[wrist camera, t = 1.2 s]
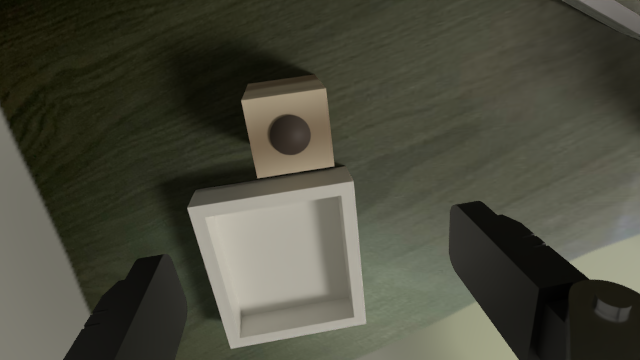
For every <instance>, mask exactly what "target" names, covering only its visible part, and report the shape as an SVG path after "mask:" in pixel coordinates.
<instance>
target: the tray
mask: <svg viewBox="0 0 640 360" xmlns="http://www.w3.org/2000/svg"><path fill="white" fill-rule="evenodd" d="M187 209H188V212H189V215H190V218H191V222H192V225H193V228H194V231H195V235H196V238H197V241H198V244H199V248H200V251H201V254H202V257H203V260H204V264H205V267H206V270H207V273H208V277H209V280H210V283H211V286H212V290H213V293H214V296H215V299H216V302H217V306H218V309H219V312H220V315H221V319H222V322H223V325H224V328H225V332H226V335H227V338H228V341H229V344H230V348H231V349H232V348H237V347H243V346H248V345H254V344H259V343H264V342H270V341H275V340H281V339H286V338H291V337H297V336H302V335H308V334H313V333H319V332H324V331H329V330H335V329H340V328H346V327H351V326H356V325H362V324H366V315H365V304H364V293H363V282H362V270H361V259H360V248H359V237H358V225H357V214H356V203H355V192H354V181H353V179H352V177H351V175H350V173H349V171H348V169H347V167H346V166H344V167H338V168H331V169H325V170H319V171H312V172H306V173H299V174H293V175H287V176H280V177H274V178H268V179H261V180H255V181H249V182H242V183H236V184H230V185H223V186H217V187H210V188H204V189H198V190H195V192H194V194H193V196H192V198H191V201H190V203H189V205H188V207H187Z"/></svg>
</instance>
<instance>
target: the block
mask: <svg viewBox="0 0 640 360" xmlns="http://www.w3.org/2000/svg"><path fill="white" fill-rule="evenodd" d="M241 102H242V107H243V111H244V116H245V121H246V126H247V131H248V135H249V140H250V145H251V150H252V154H253V159H254V164H255V169H256V173H257V178H263V177H269V176H276V175H282V174H288V173H295V172H301V171H307V170H314V169H320V168H327V167H333V166H334V157H333V148H332V139H331V130H330V121H329V112H328V103H327V94H326V88H325V87H324V85H323V84H322V83H321V82H320V80H319V79H318V78H317V77H316V75H315V74H314V75H307V76H300V77H293V78H286V79H279V80H272V81H265V82H258V83H251V84H248V85H247V87H246V90H245V92H244V95H243V97H242V100H241Z"/></svg>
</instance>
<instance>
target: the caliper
mask: <svg viewBox="0 0 640 360" xmlns="http://www.w3.org/2000/svg"><path fill="white" fill-rule="evenodd" d="M561 1H563V2H565V3H567V4H569V5H570V6H572V7H574V8H576V9H578V10H580V11H581V12H583V13H585V14H587V15H589V16H590V17H592V18H594V19H596V20H598V21H599V22H601V23H603V24H605V25H607V26H608V27H610V28H612V29H614V30H616V31H618V32H620V33H623V34H625V35H627V36H630V37H634V38H636V39H638V40H639V41H640V16H639V15H638V14H636V13H635V12H633V11H631V10H630V9H628V8H626V7H625V6H623V5H621V4H620V3H618V2H616V1H615V0H561Z"/></svg>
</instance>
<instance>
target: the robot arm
mask: <svg viewBox="0 0 640 360" xmlns="http://www.w3.org/2000/svg"><path fill="white" fill-rule="evenodd" d="M449 256H450V260H451V263H452V266H453V268H454V270H455V272H456V273H457V275H458V276H459V277H460V279H461V280H462V281H463V283H464V284H465V286H466V287H467V288H468V290H469V291H470V293H471V294H472V295H473V297H474V298H475V299H476V301H477V302H478V303H479V305H480V306H481V308H482V309H483V311H484V312H485V313H486V315H487V316H488V317H489V319H490V320H491V322H492V323H493V324H494V326H495V327H496V328H497V330H498V331H499V333H500V334H501V335H502V337H503V338H504V340H505V341H506V342H507V344H508V345H509V347H510V348H511V349H512V351H513V352H514V353H515V355H516V356H517V358H518V359H519V360H640V294H639V293H638V292H636V291H634V290H632V289H630V288H628V287H625V286H623V285H620V284H617V283H613V282H609V281H604V280H590V279H588V278H587V277H586V276H585V275H584V274H582V273H581V272H580V271H579V270H577V269H576V268H575V267H574V266H573V265H571V264H570V263H569V262H568V261H567V260H565V259H564V258H563V257H562V256H561V255H559V254H558V253H557V252H556V251H554V250H553V249H552V248H551V247H550V246H546V244H545V242H543V241H542V240H541V239H540V238H539V237H537V236H534V233H533V232H531V231H530V230H529V229H528V228H526V227H525V226H524V225H523V224H522V223H520V222H518V221H516V220H513V219H511V218H509V217H507V216H504V215H497V214H495V213H494V212H493V211H492V210H491V209H490V208H489V207H487V206H486V205H485V204H484V203H483V202H481V201H474V202H469V203H463V204H457V205H453V206H452V207H451V210H450V229H449ZM186 318H187V302H186V297H185V294H184V292H183V289H182V286H181V283H180V281H179V278H178V275H177V273H176V270H175V267H174V264H173V262H172V259H171V257H170V256H169V255H168V254H163V255H157V256H151V257H145V258H139V259H137V260H136V261H135V263H134V265H133V266H132V268H131V270H130V272H129V273H128V275H127V277H126V279H125V280H121V281H118V282H117V283H116V284H115V285H114V286H113V287H112V288H110V289H109V290H108V291H107V292H106V293H105V294H104V295H103V296H102V297H101V299H100V301H99V302H98V304H97V306H96V307H95V309H94V310H93V315H90V317H89V319H88V320H87V322H86V323H85V325H84V327H85V328H84V329H82V330H81V332H80V333H79V335H78V337H77V338H76V340H75V341H74V343H73V345H72V346H71V348H70V350H69V351H68V353H67V354H66V356H65V358H64V359H63V360H175V357H176V354H177V350H178V347H179V343H180V340H181V336H182V333H183V329H184V326H185V323H186Z"/></svg>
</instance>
